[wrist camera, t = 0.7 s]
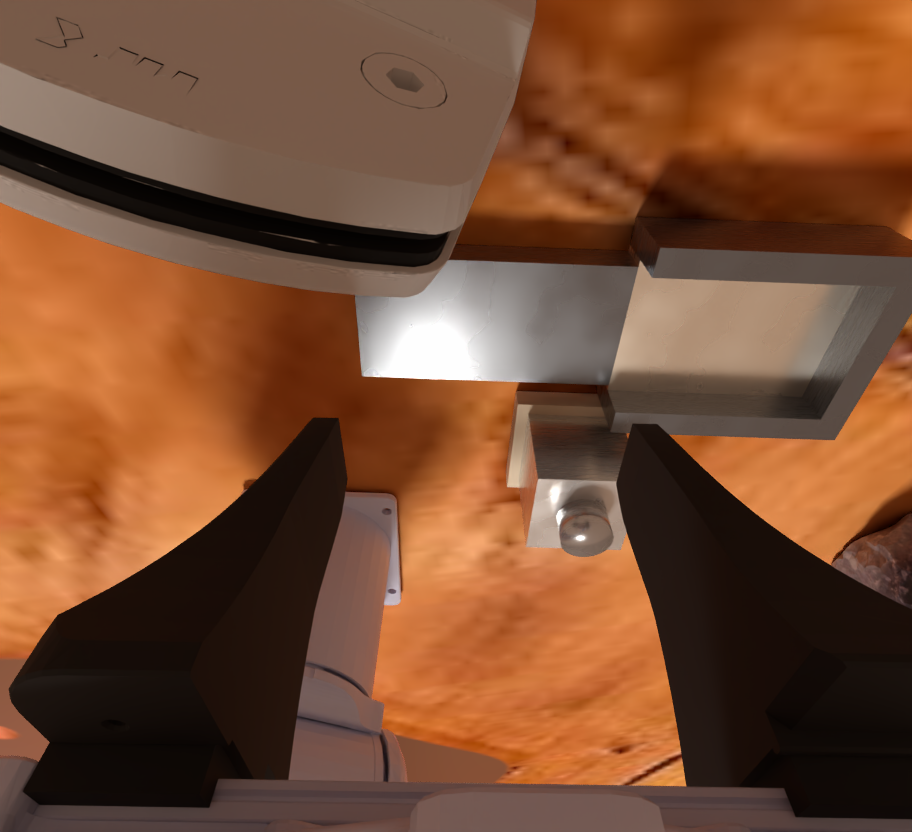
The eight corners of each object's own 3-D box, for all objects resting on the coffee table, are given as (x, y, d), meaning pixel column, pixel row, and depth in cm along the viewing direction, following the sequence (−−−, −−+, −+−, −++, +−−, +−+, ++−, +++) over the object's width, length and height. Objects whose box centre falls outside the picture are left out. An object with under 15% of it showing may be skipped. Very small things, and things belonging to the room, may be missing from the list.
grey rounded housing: (549, 1, 16) (532, 219, 10) (488, 147, 19) (452, 362, 14) (-121, -325, 12) (-695, -260, 7) (-34, -69, 16) (-354, 104, 11)
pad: (605, 475, 27) (609, 490, 26) (505, 472, 27) (507, 486, 26) (628, 394, 24) (634, 408, 23) (516, 390, 24) (517, 404, 23)
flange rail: (798, 396, 24) (834, 440, 22) (369, 381, 24) (358, 423, 21) (886, 226, 19) (945, 258, 17) (355, 205, 19) (340, 235, 17)
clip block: (601, 482, 26) (627, 573, 22) (518, 479, 26) (528, 570, 22) (619, 417, 24) (652, 506, 19) (528, 413, 24) (541, 502, 19)
